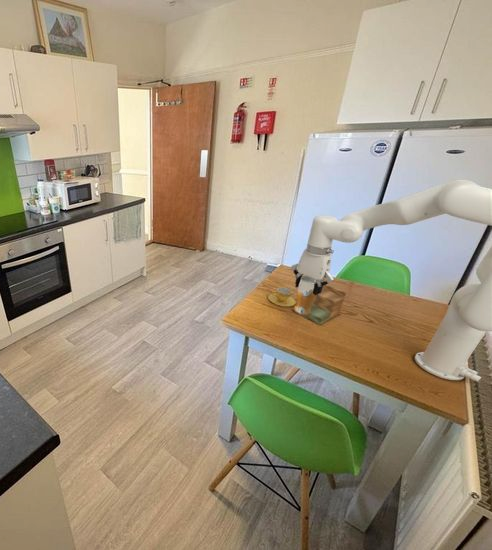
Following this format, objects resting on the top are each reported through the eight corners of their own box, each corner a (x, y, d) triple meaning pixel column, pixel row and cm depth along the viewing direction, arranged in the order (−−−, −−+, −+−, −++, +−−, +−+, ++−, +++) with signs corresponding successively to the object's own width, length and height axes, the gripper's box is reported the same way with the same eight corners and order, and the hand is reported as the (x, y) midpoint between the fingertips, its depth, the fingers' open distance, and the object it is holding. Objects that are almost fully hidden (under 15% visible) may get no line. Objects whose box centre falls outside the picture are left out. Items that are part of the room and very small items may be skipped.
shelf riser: (339, 313, 132) (346, 292, 127) (319, 324, 125) (327, 302, 120) (312, 301, 141) (318, 281, 136) (293, 311, 134) (298, 290, 129)
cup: (292, 295, 147) (294, 285, 144) (298, 308, 136) (301, 298, 134) (266, 292, 149) (268, 283, 147) (270, 305, 139) (272, 295, 137)
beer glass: (288, 307, 126) (296, 276, 119) (303, 305, 127) (311, 274, 120) (300, 316, 120) (308, 284, 113) (315, 314, 121) (324, 282, 114)
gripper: (348, 253, 106) (335, 296, 114) (301, 240, 119) (292, 279, 127) (336, 258, 102) (324, 302, 110) (290, 244, 116) (281, 284, 124)
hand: (307, 289), depth 119 cm, fingers closed on beer glass, 7 cm apart
